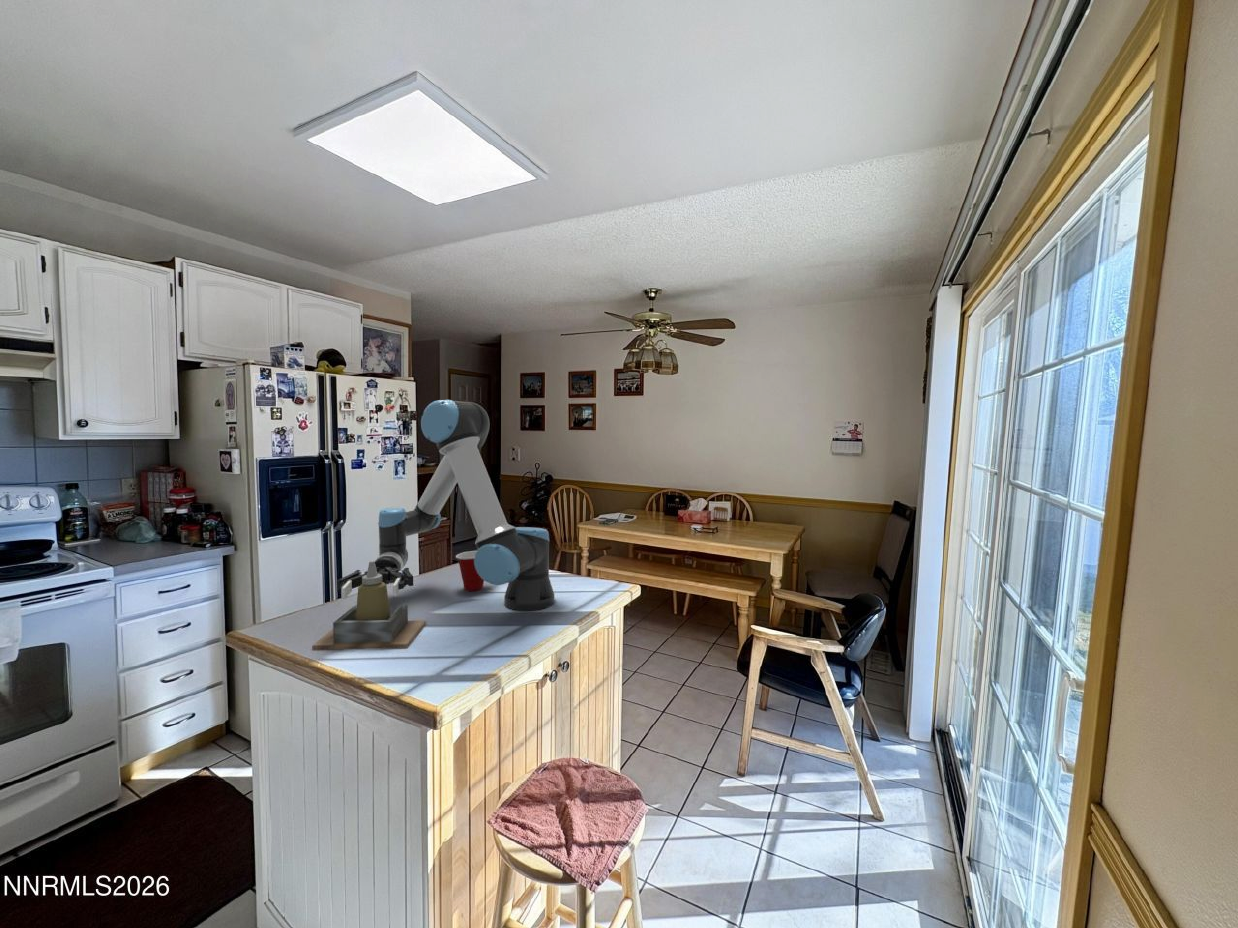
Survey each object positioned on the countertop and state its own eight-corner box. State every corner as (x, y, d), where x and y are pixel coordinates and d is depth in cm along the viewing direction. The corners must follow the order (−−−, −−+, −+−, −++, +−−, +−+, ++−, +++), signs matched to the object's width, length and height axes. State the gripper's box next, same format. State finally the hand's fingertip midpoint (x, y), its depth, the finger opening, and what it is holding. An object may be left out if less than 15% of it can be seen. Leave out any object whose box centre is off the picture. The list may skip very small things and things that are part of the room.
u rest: (426, 624, 138) (425, 602, 137) (407, 647, 123) (406, 623, 122) (341, 625, 136) (341, 603, 136) (312, 649, 121) (311, 624, 121)
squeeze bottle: (376, 639, 125) (375, 567, 124) (348, 636, 127) (346, 564, 126) (397, 626, 133) (396, 558, 132) (370, 623, 135) (368, 556, 134)
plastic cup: (464, 582, 175) (464, 548, 174) (494, 584, 173) (494, 549, 172) (449, 592, 164) (449, 556, 163) (481, 594, 162) (481, 557, 162)
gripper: (429, 578, 150) (419, 603, 128) (342, 583, 144) (316, 610, 123) (429, 553, 149) (419, 574, 128) (341, 557, 143) (315, 580, 122)
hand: (369, 592), depth 125 cm, fingers open, 11 cm apart
